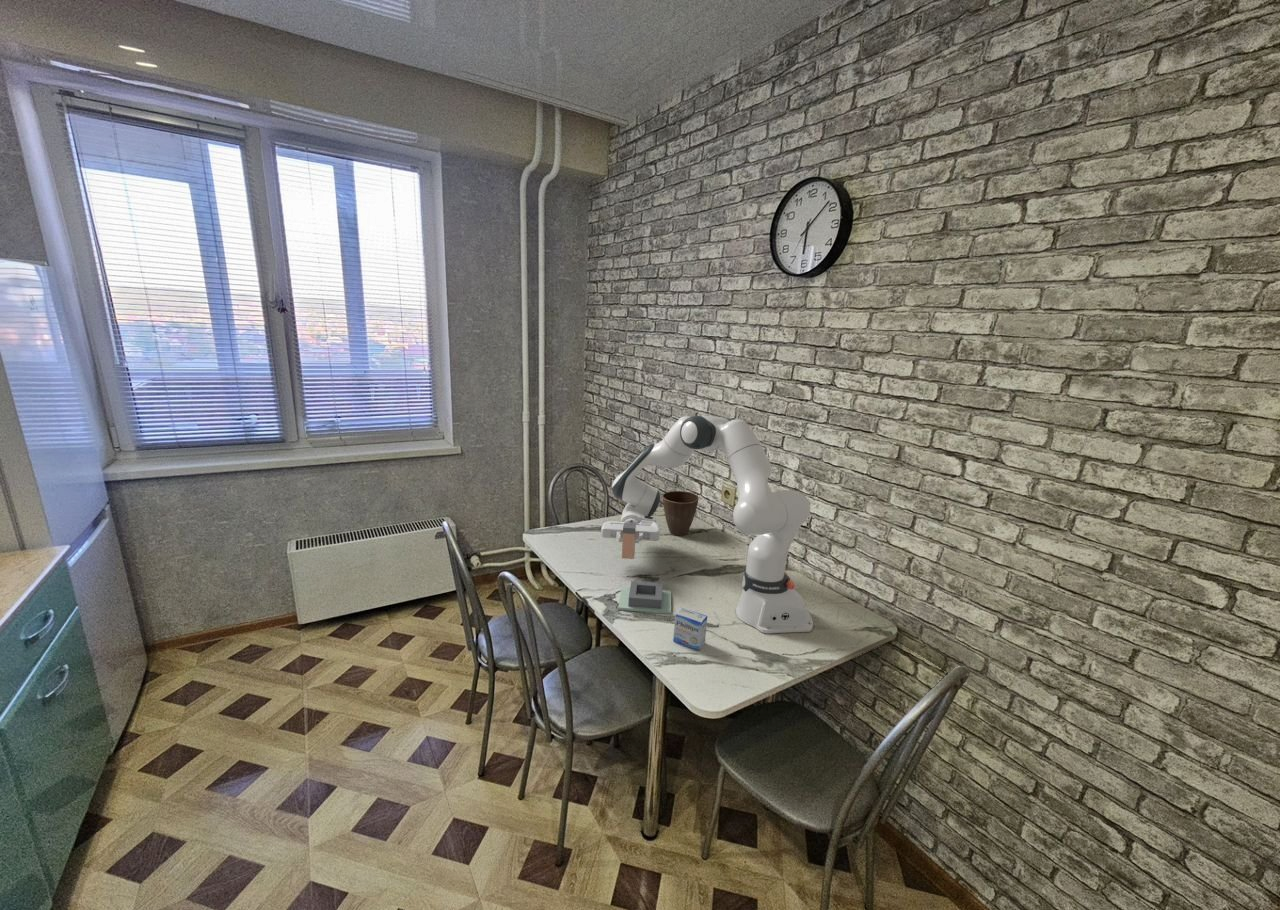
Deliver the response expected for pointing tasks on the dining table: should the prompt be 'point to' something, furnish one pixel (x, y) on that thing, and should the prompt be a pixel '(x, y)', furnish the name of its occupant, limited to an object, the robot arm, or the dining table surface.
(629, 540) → the plug
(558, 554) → the dining table surface
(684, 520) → the plant pot
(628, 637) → the dining table surface
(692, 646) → the medicine box
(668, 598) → the board
